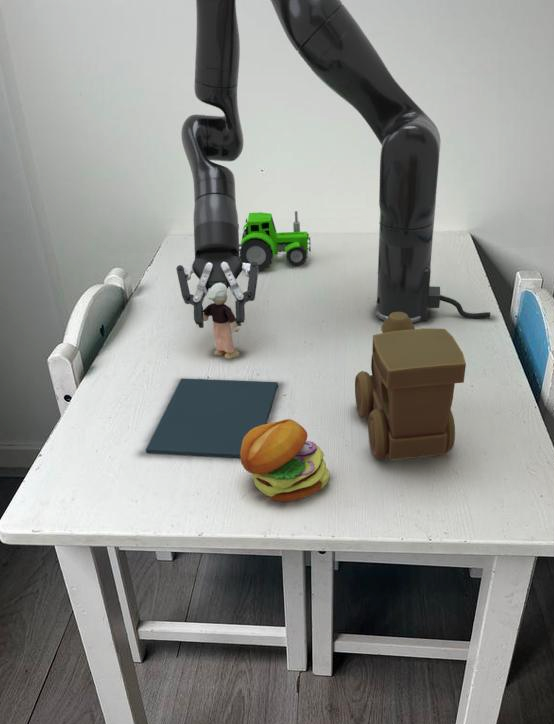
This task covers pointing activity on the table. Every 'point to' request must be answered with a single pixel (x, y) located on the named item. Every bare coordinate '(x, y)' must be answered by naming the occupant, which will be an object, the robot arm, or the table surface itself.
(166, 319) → the table surface
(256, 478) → the cheeseburger
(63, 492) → the table surface
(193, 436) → the mat
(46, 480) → the table surface
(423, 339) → the wooden toy train
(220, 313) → the grandmother figurine
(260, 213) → the toy tractor
